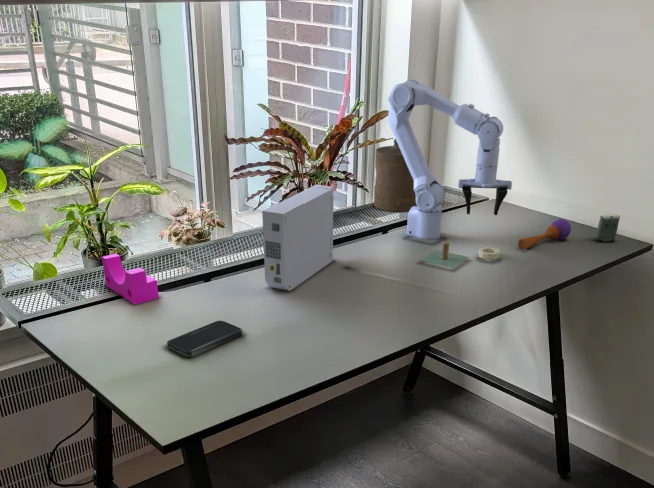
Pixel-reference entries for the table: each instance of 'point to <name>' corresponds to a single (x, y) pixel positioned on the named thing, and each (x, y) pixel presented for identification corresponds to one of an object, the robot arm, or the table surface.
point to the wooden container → (393, 180)
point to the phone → (204, 338)
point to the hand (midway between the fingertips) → (481, 213)
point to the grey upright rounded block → (607, 228)
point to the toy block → (129, 281)
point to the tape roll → (489, 253)
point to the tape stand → (444, 257)
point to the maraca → (548, 234)
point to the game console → (298, 237)
